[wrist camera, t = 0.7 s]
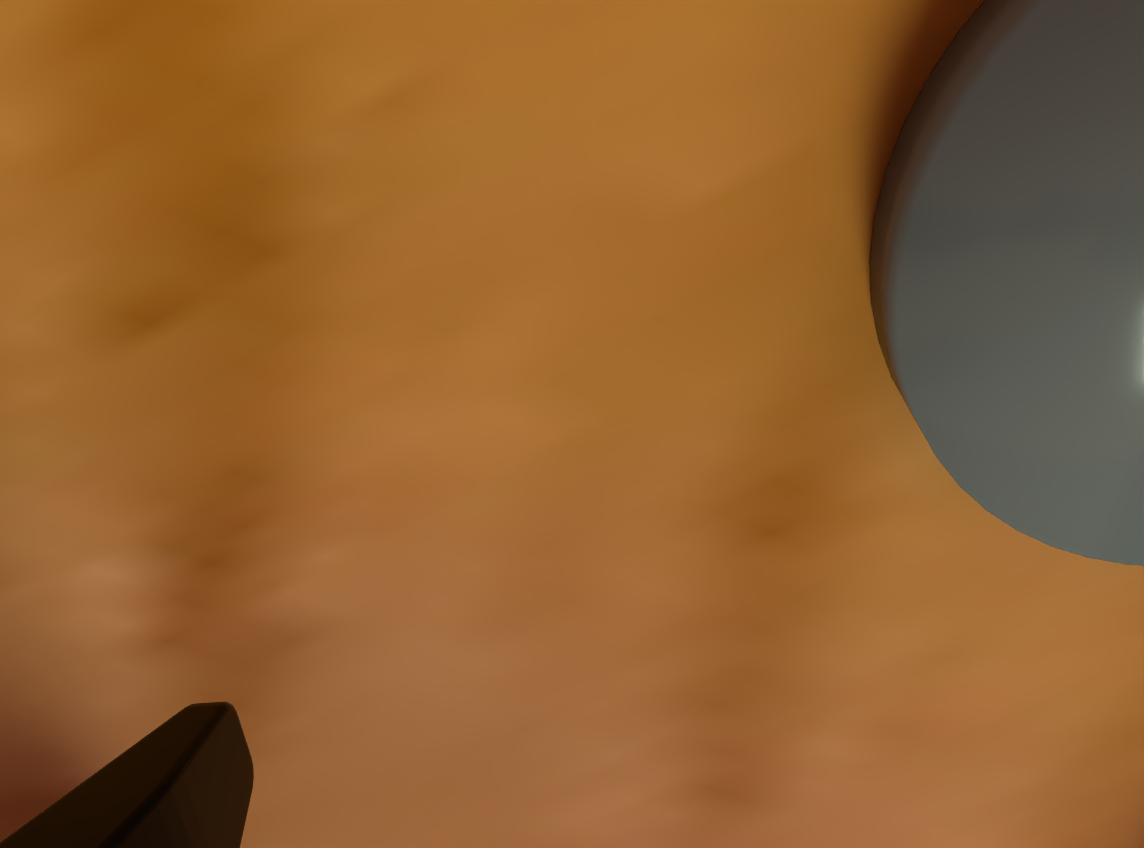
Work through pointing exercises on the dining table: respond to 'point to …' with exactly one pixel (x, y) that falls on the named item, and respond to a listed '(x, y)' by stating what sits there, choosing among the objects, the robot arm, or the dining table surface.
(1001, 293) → the slate plinth
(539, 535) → the dining table surface
